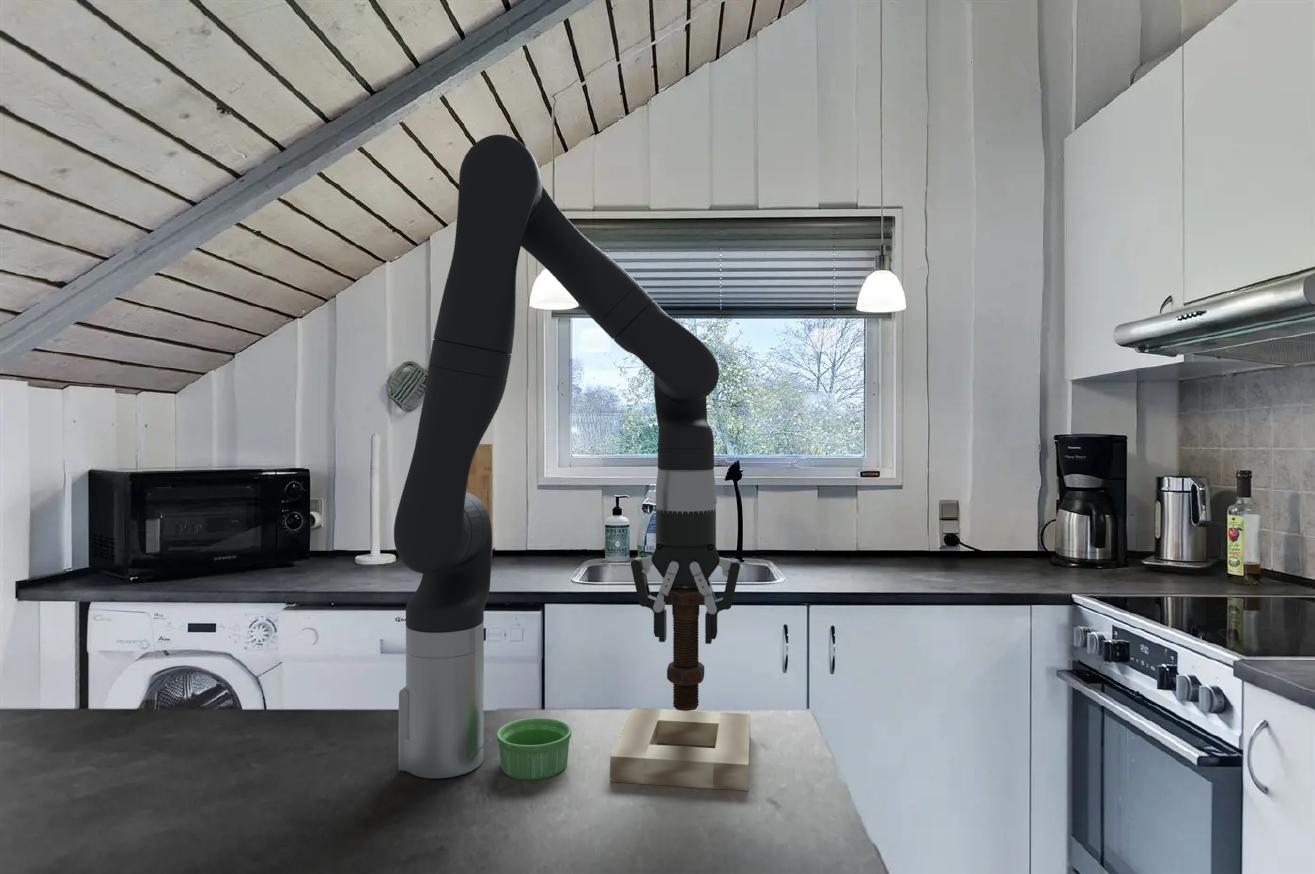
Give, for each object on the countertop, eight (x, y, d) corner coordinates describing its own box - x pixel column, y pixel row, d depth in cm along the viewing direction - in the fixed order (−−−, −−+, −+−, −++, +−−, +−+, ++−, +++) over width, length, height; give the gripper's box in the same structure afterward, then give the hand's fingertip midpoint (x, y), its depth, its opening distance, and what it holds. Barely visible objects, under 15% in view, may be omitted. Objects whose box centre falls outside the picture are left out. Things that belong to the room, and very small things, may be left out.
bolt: (702, 717, 96) (702, 594, 95) (661, 714, 97) (661, 592, 96) (709, 701, 101) (709, 584, 101) (670, 698, 102) (670, 583, 102)
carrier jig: (610, 781, 92) (610, 755, 92) (632, 729, 108) (632, 707, 108) (748, 790, 90) (748, 764, 90) (750, 736, 106) (750, 713, 106)
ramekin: (492, 756, 99) (492, 721, 99) (563, 747, 102) (563, 713, 102) (501, 787, 91) (501, 749, 91) (578, 777, 94) (578, 740, 94)
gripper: (623, 508, 96) (623, 647, 96) (742, 509, 94) (742, 652, 94) (633, 502, 103) (634, 631, 103) (744, 503, 101) (744, 635, 102)
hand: (685, 640), depth 99 cm, fingers closed on bolt, 5 cm apart
